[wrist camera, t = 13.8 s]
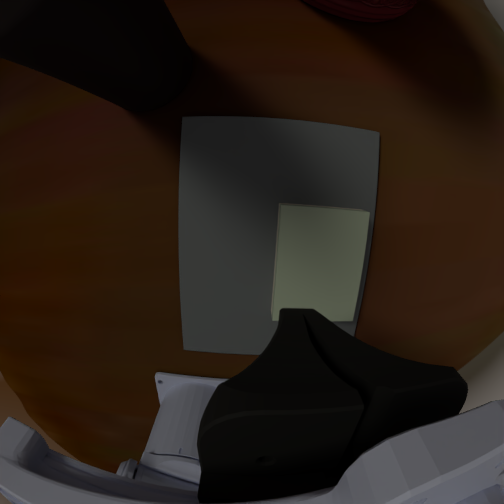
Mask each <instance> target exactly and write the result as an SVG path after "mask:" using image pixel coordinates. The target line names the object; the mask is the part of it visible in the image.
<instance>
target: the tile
mask: <svg viewBox="0 0 504 504" xmlns="http://www.w3.org/2000/svg"><path fill="white" fill-rule="evenodd" d="M369 215H370V212H367V211H364V210H361V209H351V208H340V207H329V206H317V205H303V204H289V203H279V210H278V225H277V240H276V254H275V268H274V281H273V293H272V305H271V314H272V321H279V310H281V309H282V308H312V309H315V310H316V311H318V312H319V313H320V314H322V315H323V316H325V317H326V318H327V319H329V320H330V321H353V317H354V312H355V307H356V302H357V297H358V292H359V286H360V280H361V274H362V268H363V262H364V255H365V248H366V241H367V233H368V225H369Z"/></svg>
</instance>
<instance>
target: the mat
mask: <svg viewBox="0 0 504 504" xmlns="http://www.w3.org/2000/svg"><path fill="white" fill-rule="evenodd" d="M378 163H379V132H375V131H370V130H364V129H359V128H353V127H347V126H340V125H334V124H326V123H319V122H310V121H301V120H290V119H278V118H263V117H239V116H193V117H182V131H181V149H180V172H179V275H180V299H181V317H182V332H183V345H184V350H192V351H203V352H216V353H231V354H251V355H260V354H261V353H262V352H263V351H264V350H265V348H266V347H267V345H268V344H269V342H270V341H271V339H272V337H273V335H274V333H275V332H276V329H277V327H278V321H272V314H271V305H272V293H273V281H274V268H275V254H276V240H277V225H278V210H279V203H289V204H303V205H317V206H329V207H340V208H351V209H361V210H364V211H367V212H370V215H369V225H368V233H367V241H366V248H365V255H364V262H363V268H362V274H361V280H360V286H359V292H358V297H357V302H356V307H355V312H354V317H353V321H331V322H333V323H334V324H335V325H337V326H338V327H340V328H341V329H343V330H344V331H346V332H347V333H349V334H350V335H352V336H354V333H355V329H356V324H357V320H358V315H359V310H360V306H361V301H362V295H363V290H364V285H365V279H366V273H367V267H368V261H369V254H370V247H371V240H372V232H373V224H374V215H375V205H376V193H377V180H378Z"/></svg>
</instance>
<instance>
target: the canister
mask: <svg viewBox="0 0 504 504" xmlns="http://www.w3.org/2000/svg"><path fill="white" fill-rule="evenodd" d="M303 1H304V2H306V3H308V4H310V5H312V6H314V7H316V8H318V9H320V10H322V11H325V12H327V13H330V14H332V15H335V16H338V17H342V18H345V19H349V20H354V21H360V22H370V23H377V22H385V21H389V20H392V19H395V18H396V17H399V16H401V15H403V14H405V13H407V12H408V11H409V10H410V9H411V8H413V7H414V6H415V5H416V3H417V1H418V0H303Z"/></svg>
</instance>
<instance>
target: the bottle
mask: <svg viewBox="0 0 504 504" xmlns="http://www.w3.org/2000/svg"><path fill="white" fill-rule="evenodd" d="M0 58H3V59H6V60H9V61H12V62H15V63H17V64H20V65H23V66H26V67H29V68H31V69H34V70H37V71H39V72H42V73H44V74H47V75H49V76H52V77H54V78H57V79H59V80H62V81H64V82H67V83H69V84H71V85H74V86H76V87H78V88H81V89H83V90H85V91H87V92H90V93H92V94H94V95H96V96H99V97H101V98H103V99H105V100H107V101H110V102H112V103H114V104H116V105H118V106H120V107H122V108H124V109H127V110H132V111H137V112H139V111H146V110H153V109H155V108H158V107H160V106H162V105H165V104H166V103H168V102H169V101H170V100H172V99H173V98H174V97H176V96H177V95H178V94H179V92H180V91H181V90H182V89H183V87H184V86H185V85H186V83H187V81H188V79H189V76H190V74H191V71H192V55H191V52H190V49H189V47H188V45H187V43H186V41H185V39H184V37H183V35H182V33H181V32H180V30H179V28H178V26H177V24H176V22H175V20H174V19H173V17H172V15H171V13H170V11H169V9H168V8H167V6H166V4H165V2H164V0H0Z"/></svg>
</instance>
